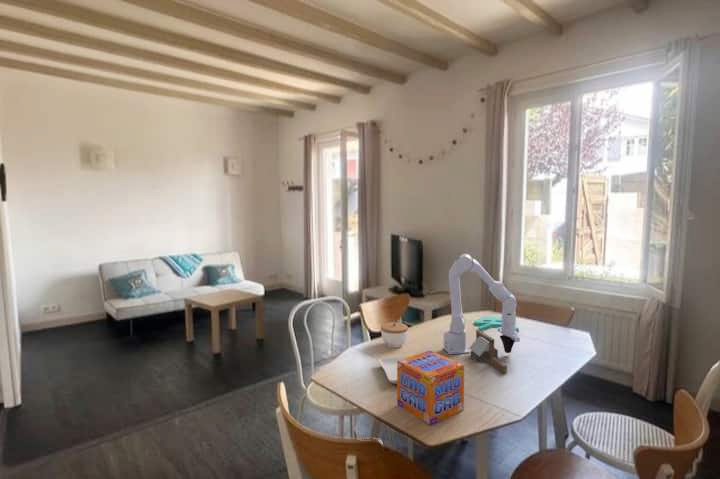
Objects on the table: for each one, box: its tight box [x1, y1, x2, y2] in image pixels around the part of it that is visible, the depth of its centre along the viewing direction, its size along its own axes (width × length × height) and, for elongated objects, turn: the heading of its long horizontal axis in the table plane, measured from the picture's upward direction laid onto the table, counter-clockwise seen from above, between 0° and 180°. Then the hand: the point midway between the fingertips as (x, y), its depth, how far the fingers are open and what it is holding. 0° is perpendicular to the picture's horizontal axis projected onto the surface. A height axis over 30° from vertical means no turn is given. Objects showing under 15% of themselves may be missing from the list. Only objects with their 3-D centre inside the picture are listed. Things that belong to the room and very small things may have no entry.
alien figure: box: [474, 316, 520, 333], centre depth 217 cm, size 20×2×20 cm
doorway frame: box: [475, 329, 508, 375], centre depth 167 cm, size 2×23×10 cm, turn 11°
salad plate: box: [377, 356, 411, 385], centre depth 157 cm, size 21×21×3 cm
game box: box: [396, 350, 465, 426], centre depth 131 cm, size 16×16×16 cm
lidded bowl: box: [380, 321, 409, 349], centre depth 188 cm, size 13×13×11 cm
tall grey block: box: [470, 346, 499, 362], centre depth 172 cm, size 10×5×4 cm, turn 101°
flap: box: [468, 336, 489, 357], centre depth 172 cm, size 1×9×7 cm
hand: (507, 352), depth 174 cm, fingers closed
